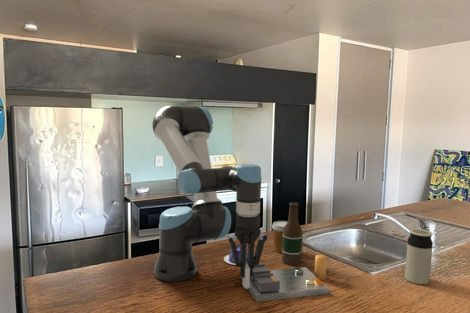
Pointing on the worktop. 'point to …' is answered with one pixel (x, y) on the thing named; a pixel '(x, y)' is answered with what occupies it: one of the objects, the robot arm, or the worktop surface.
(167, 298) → the worktop surface
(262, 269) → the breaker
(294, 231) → the beer bottle
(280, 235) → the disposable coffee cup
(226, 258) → the pudding
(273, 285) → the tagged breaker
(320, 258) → the cap
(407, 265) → the travel mug
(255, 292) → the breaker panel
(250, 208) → the robot arm
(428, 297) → the worktop surface
